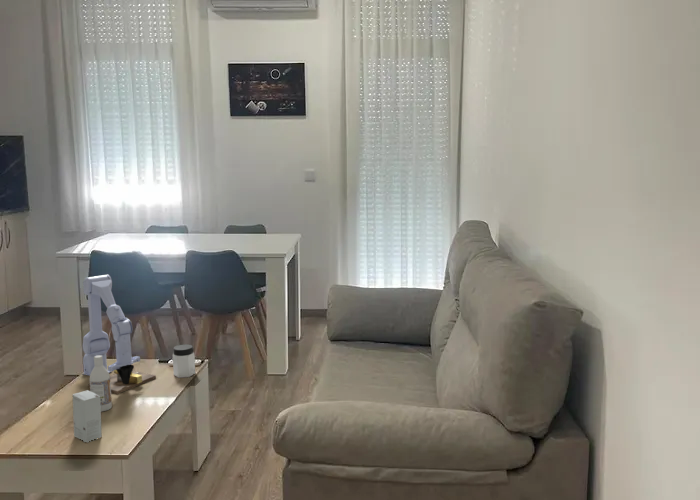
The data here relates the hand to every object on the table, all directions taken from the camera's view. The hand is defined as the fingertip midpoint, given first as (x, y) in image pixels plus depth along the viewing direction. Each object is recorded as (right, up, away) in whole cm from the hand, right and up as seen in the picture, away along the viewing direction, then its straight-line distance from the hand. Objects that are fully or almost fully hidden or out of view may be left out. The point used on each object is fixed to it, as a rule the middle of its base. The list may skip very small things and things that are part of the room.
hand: (125, 383), depth 261 cm
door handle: (-1, 0, +6) cm, 6 cm away
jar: (+19, 0, +17) cm, 25 cm away
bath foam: (-2, -6, -19) cm, 20 cm away
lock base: (-4, -1, +8) cm, 9 cm away
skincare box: (+2, -9, -43) cm, 44 cm away
